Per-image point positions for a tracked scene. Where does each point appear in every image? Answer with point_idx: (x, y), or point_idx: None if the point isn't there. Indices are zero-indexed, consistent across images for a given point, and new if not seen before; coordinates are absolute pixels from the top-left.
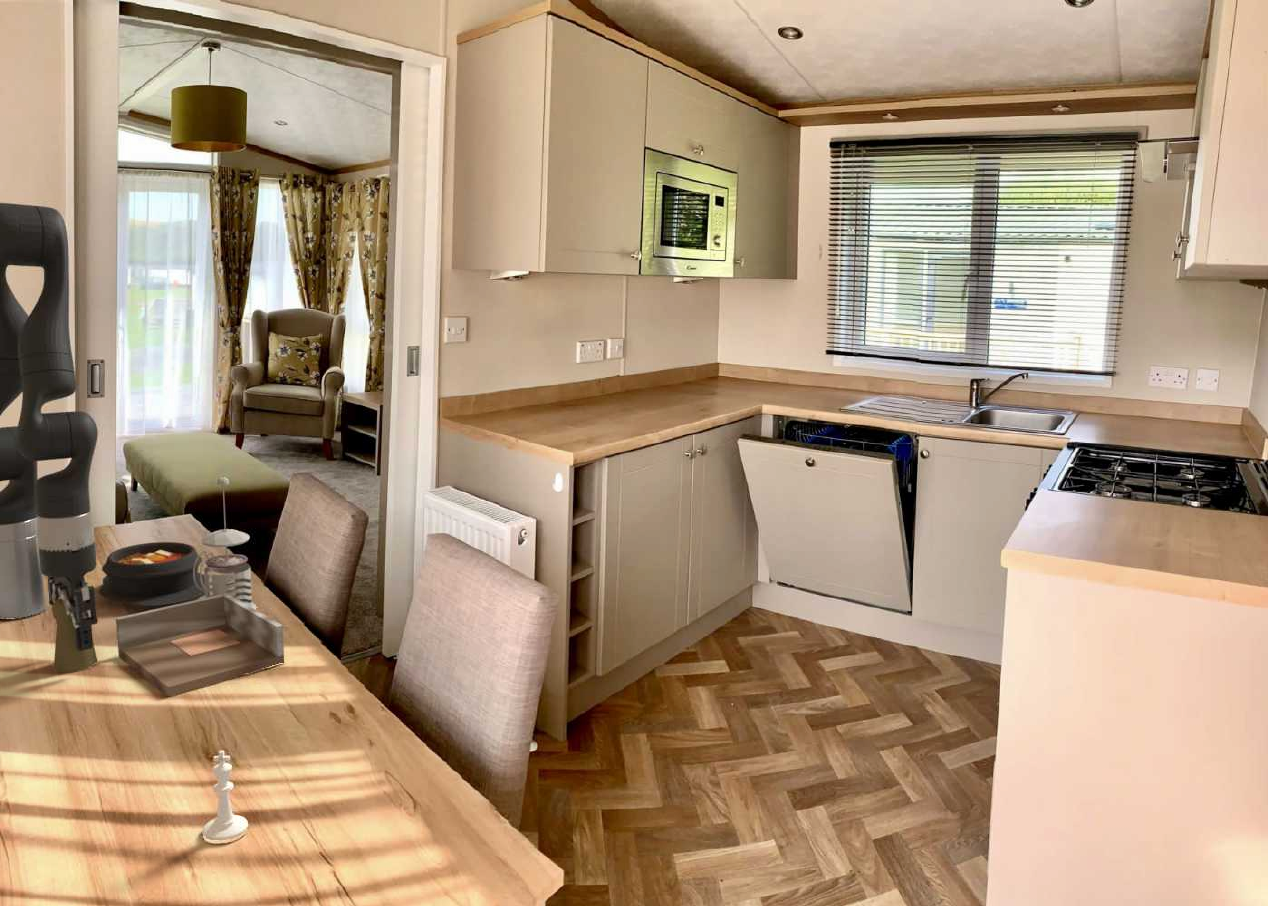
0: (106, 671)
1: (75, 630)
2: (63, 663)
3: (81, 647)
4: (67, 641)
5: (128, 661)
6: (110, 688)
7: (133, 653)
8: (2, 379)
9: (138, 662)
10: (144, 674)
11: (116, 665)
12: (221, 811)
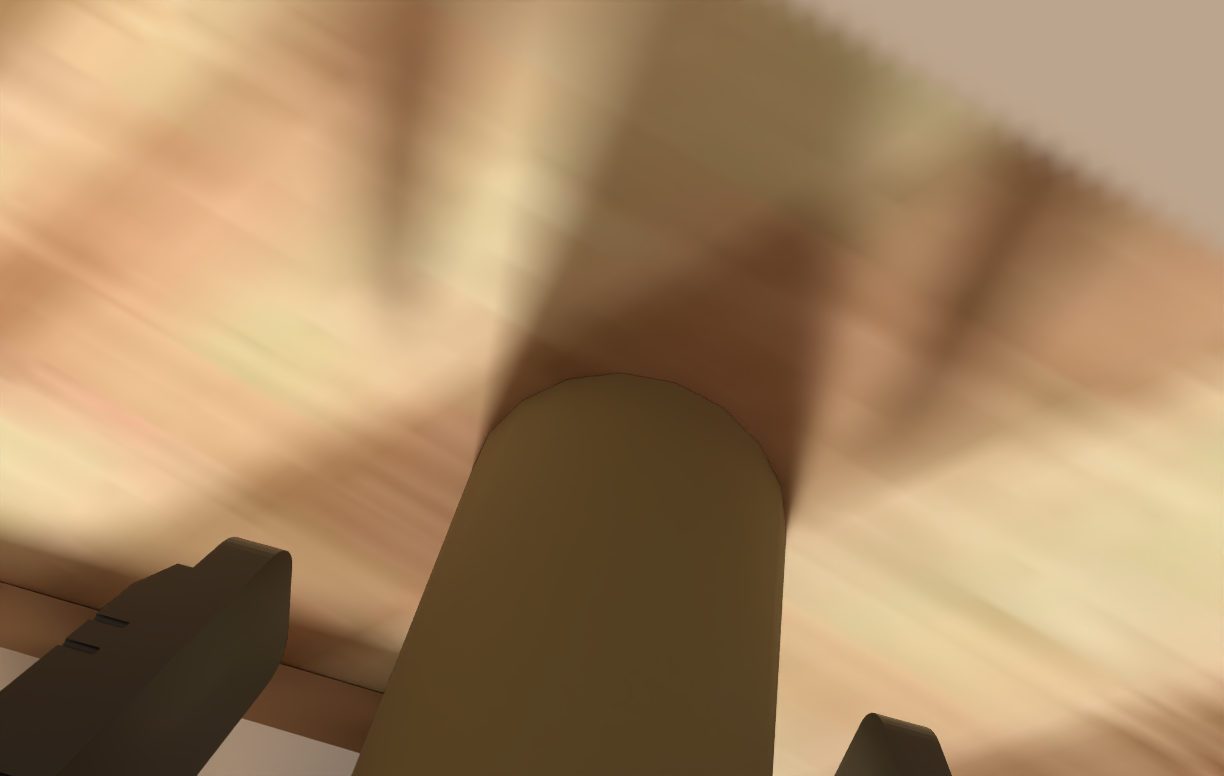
0: (324, 549)
1: (30, 736)
2: (538, 426)
3: (169, 570)
4: (449, 600)
5: (316, 695)
6: (14, 391)
7: (298, 767)
8: None
9: None
10: (43, 613)
11: (377, 637)
12: None
